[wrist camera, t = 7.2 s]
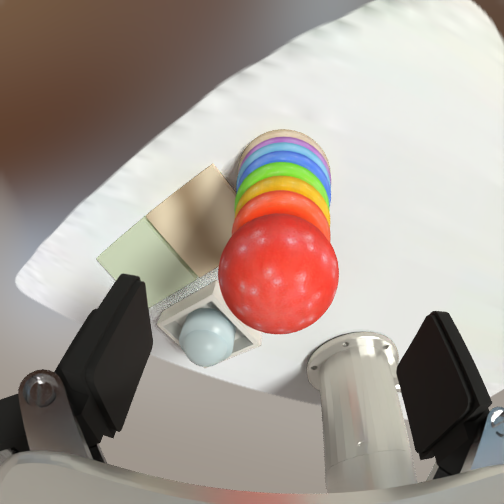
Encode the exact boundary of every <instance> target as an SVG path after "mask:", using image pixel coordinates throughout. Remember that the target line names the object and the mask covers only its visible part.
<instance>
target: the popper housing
mask: <svg viewBox="0 0 504 504" xmlns="http://www.w3.org/2000/svg"><path fill="white" fill-rule="evenodd" d="M202 308H209V309H214V310H218V311H220V312H222V313H224V314H225V315H226V316H227V317H228V318H229V320H230V321H231V322H232V323H233V324H234V325H235V328H236V333H235V339H234V345H233V351H232V353H231V355H230V356H229V357H228V358H227V359H230V358H232V357H235V356H237V355H240V354H242V353H244V352H247V351H249V350H252V349H254V348H256V347H259V346H261V342H262V332H261V331H258V330H255V329H252V328H250V327H249V326H247V325H245V324H244V323H243V322H241V321H240V320H239V319H238V318H237V317H236V316H235V315H234V314H233V313H232V312H231V311H230V309H229V308H228V306H227V305H226V303H225V301H224V299H223V296H222V293H221V290H220V286H219V282H218V281H217V280H215V281H214V282H212V283H210V284H208V285H207V286H205V287H203V288H201V289H200V290H198V291H196V292H194V293H193V294H191V295H189V296H187V297H186V298H184V299H182V300H180V301H179V302H177V303H175V304H173V305H172V306H170V307H168V308H166V309H165V310H163V312H162V314H161V316H160V318H159V320H158V323H157V326H158V327H159V328H160V329H161V330H163V331H164V332H165V333H166V334H167V335H168V336H169V337H170V338H171V339H172V340H173V341H174V342H176V343H177V344H178V345H179V346H180V344H179V336H180V333H181V331H182V328H183V325H184V322H185V319H186V317H187V316H188V314H189V313H191V312H192V311H194V310H197V309H202ZM180 347H181V346H180ZM227 359H226V360H227ZM224 361H225V360H224ZM221 362H222V361H221ZM219 363H220V362H219ZM204 368H207V367H204Z"/></svg>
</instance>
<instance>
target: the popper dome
mask: <svg viewBox="0 0 504 504" xmlns="http://www.w3.org/2000/svg"><path fill="white" fill-rule="evenodd" d="M235 333H236V328H235V325H234V324H233V323H232V322H231V321H230V320H229V318H228V317H227V316H226V315H225V314H224V313H222V312H220V311H218V310H214V309H209V308H202V309H197V310H194V311H192V312H191V313H189V314H188V316H187V317H186V319H185V322H184V325H183V328H182V331H181V333H180V336H179V344H180V346H181V348H182V350H183V351H184V352H185V354H186V356H187V357H188V358H189V360H190V361H191V362H193V363H194V364H196V365H198V366H202V367H210V366H213V365H216V364H218V363H219V362H221V361H224V360H226V359H227V358H228V357H229V356H230V355H231V353H232V351H233V345H234V339H235Z"/></svg>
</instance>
